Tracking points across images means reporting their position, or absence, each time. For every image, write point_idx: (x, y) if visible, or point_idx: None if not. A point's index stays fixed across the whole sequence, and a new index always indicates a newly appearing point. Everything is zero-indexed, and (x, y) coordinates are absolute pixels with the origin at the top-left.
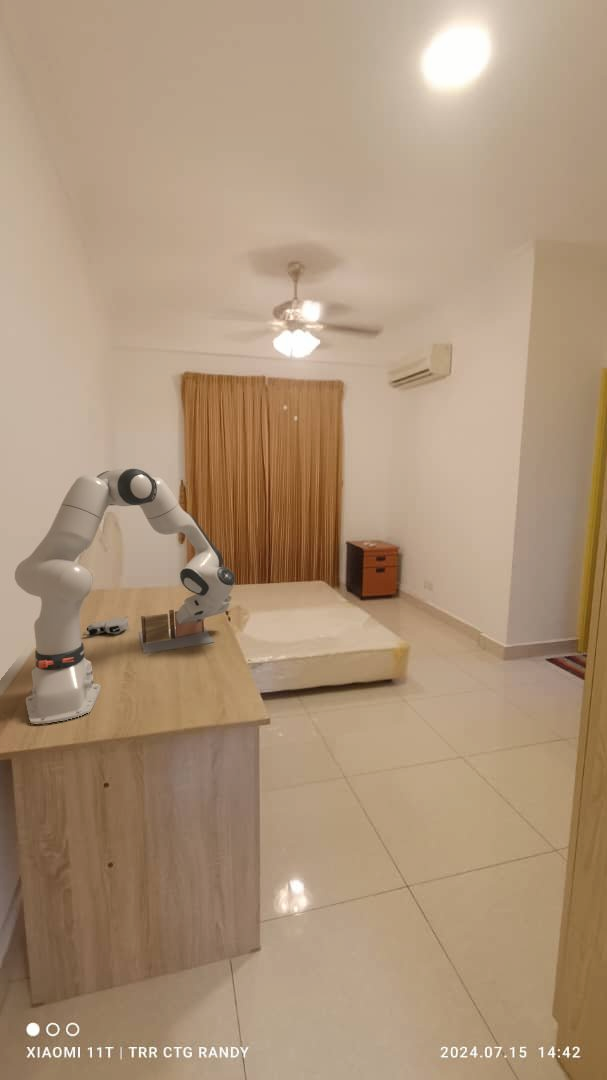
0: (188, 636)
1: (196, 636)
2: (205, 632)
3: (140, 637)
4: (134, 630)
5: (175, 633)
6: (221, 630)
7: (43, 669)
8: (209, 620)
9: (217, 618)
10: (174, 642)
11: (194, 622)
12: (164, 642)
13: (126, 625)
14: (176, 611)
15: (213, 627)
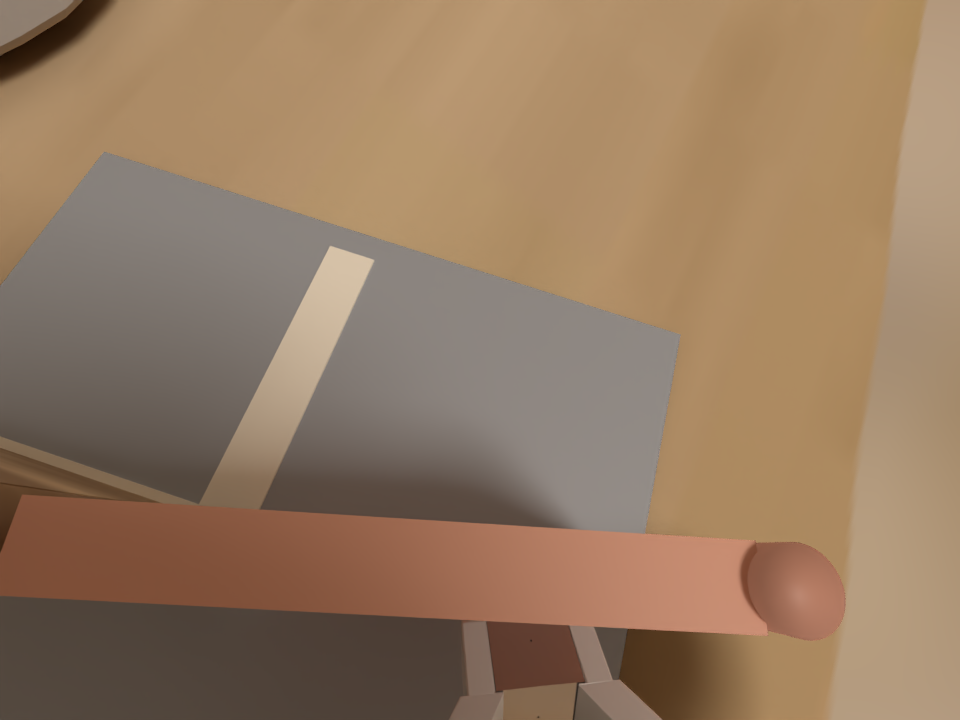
0: (377, 617)
1: (449, 694)
2: (600, 631)
3: (9, 276)
4: (129, 81)
5: (325, 413)
6: (792, 675)
7: None
8: (776, 291)
9: (862, 294)
10: (130, 705)
11: (463, 684)
12: (53, 608)
13: (6, 14)
14: (69, 511)
15: (744, 506)
